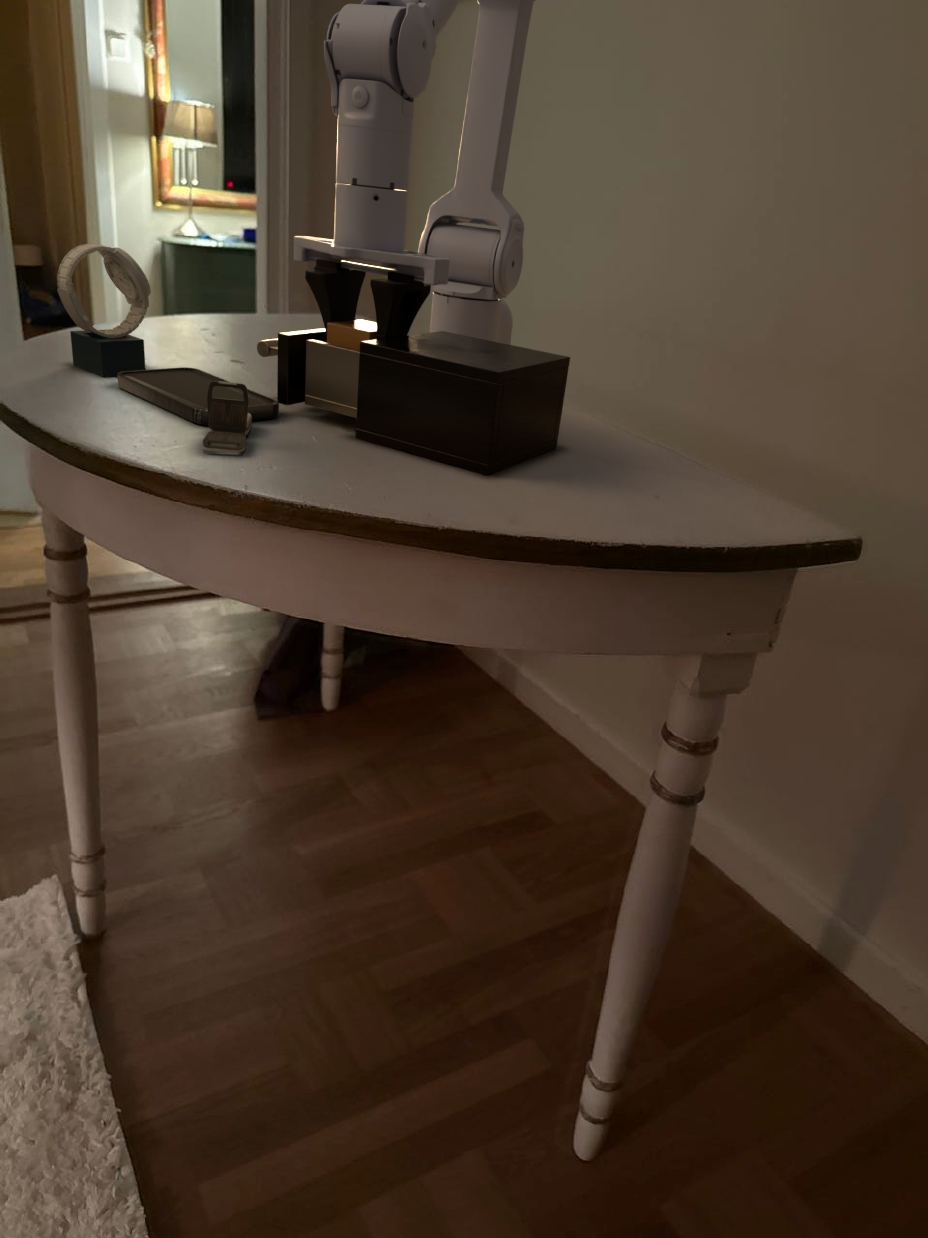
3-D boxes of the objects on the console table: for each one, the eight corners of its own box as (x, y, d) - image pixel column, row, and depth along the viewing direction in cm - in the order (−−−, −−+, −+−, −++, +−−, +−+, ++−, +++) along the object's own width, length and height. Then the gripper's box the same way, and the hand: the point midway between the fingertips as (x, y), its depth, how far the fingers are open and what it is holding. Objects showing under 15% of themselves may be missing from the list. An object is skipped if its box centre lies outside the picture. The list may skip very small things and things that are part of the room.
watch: (164, 371, 85) (158, 250, 80) (84, 378, 80) (73, 247, 75) (133, 360, 88) (125, 242, 84) (54, 365, 83) (41, 239, 78)
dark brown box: (355, 437, 71) (359, 341, 68) (434, 416, 80) (442, 330, 77) (487, 475, 66) (499, 372, 62) (556, 448, 75) (570, 356, 71)
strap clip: (214, 419, 71) (213, 366, 69) (252, 422, 71) (253, 369, 69) (200, 452, 63) (199, 394, 61) (243, 456, 64) (244, 397, 62)
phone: (201, 412, 69) (112, 371, 78) (201, 426, 69) (113, 384, 78) (285, 403, 74) (193, 366, 83) (285, 416, 74) (193, 378, 83)
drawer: (238, 392, 77) (237, 323, 75) (316, 378, 85) (318, 316, 83) (384, 432, 70) (388, 358, 68) (454, 413, 78) (460, 346, 76)
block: (358, 371, 79) (360, 319, 77) (398, 381, 77) (402, 327, 75) (325, 377, 75) (327, 322, 73) (367, 387, 73) (369, 331, 71)
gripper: (268, 175, 69) (268, 351, 75) (418, 193, 63) (404, 384, 69) (326, 180, 75) (321, 344, 81) (469, 198, 69) (453, 374, 75)
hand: (363, 362), depth 75 cm, fingers closed on block, 4 cm apart
